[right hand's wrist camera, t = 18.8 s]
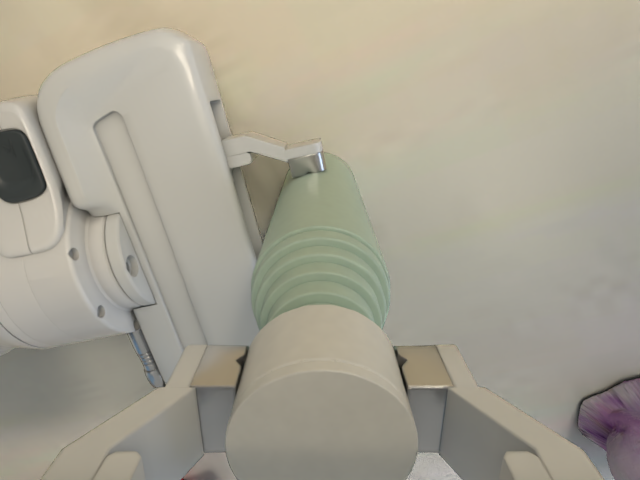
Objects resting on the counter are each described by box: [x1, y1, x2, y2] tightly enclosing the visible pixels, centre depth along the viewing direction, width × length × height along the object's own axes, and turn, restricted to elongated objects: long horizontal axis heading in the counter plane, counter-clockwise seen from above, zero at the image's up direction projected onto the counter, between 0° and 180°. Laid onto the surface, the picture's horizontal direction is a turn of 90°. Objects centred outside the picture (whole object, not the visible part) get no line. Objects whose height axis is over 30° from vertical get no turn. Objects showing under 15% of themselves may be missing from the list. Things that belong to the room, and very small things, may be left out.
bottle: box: [251, 153, 390, 330], centre depth 18 cm, size 5×5×20 cm
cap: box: [225, 305, 418, 480], centre depth 9 cm, size 4×4×2 cm
